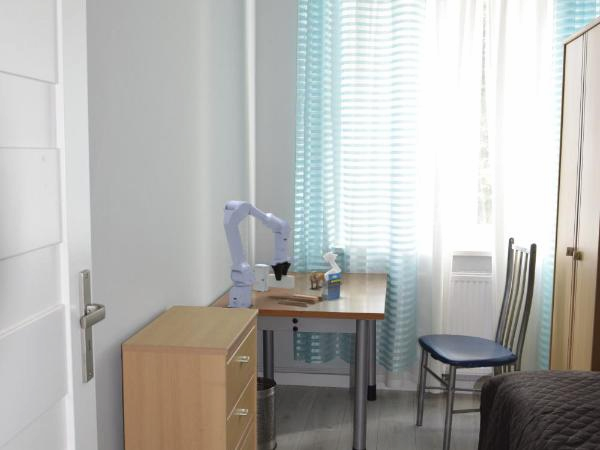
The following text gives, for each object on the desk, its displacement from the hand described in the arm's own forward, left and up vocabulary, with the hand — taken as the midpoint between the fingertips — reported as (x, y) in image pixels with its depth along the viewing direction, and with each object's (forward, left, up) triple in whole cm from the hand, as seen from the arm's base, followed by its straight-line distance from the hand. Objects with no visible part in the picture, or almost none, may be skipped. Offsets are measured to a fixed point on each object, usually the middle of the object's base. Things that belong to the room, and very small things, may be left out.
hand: (280, 279), depth 313 cm
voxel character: (+50, 0, -9) cm, 50 cm away
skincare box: (+15, +19, -9) cm, 26 cm away
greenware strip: (0, 0, -3) cm, 3 cm away
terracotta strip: (0, -12, -8) cm, 14 cm away
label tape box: (+11, -19, -9) cm, 24 cm away
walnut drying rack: (-3, -12, -9) cm, 15 cm away
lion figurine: (+35, 0, -9) cm, 36 cm away
